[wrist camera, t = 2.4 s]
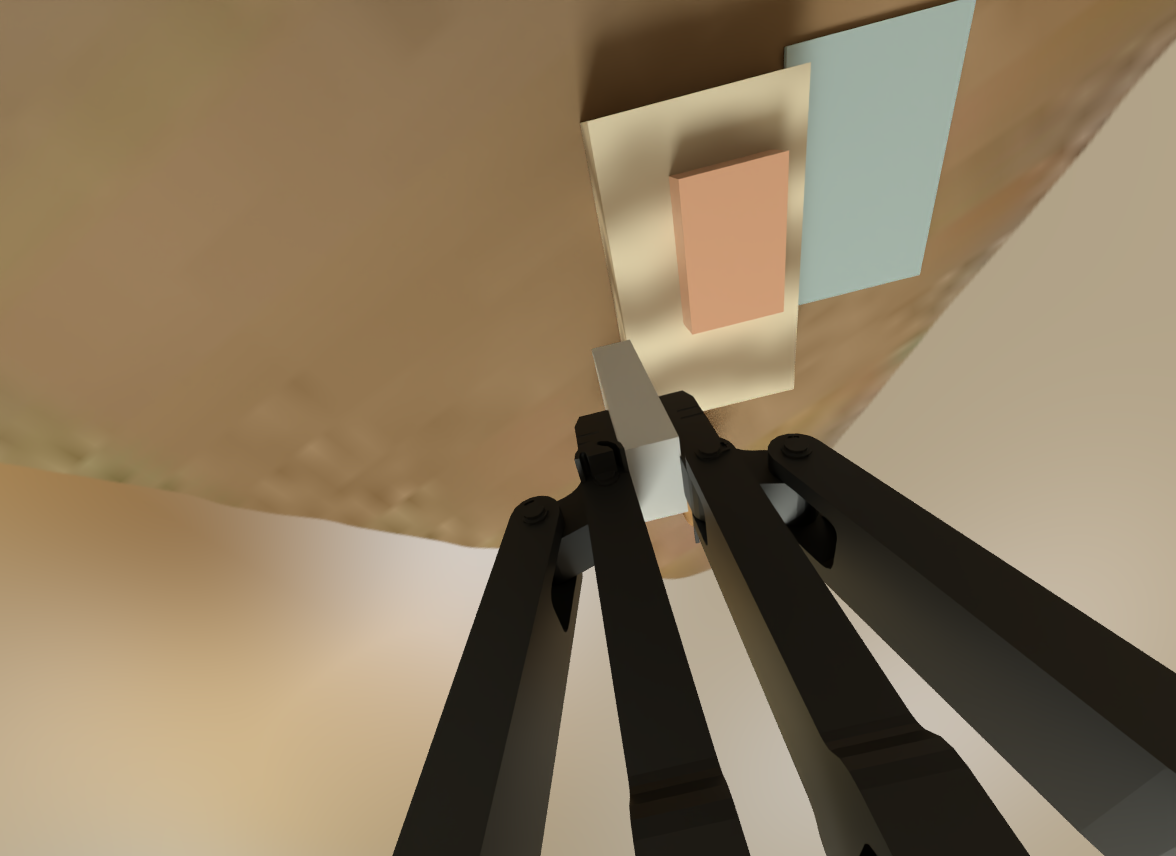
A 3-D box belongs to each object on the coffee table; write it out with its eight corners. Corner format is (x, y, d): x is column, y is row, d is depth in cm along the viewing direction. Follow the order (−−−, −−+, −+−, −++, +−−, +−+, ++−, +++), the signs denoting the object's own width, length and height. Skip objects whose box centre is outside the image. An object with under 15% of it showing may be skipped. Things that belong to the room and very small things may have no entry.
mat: (784, 47, 26) (787, 46, 26) (972, -4, 26) (976, -5, 25) (777, 308, 35) (779, 309, 35) (916, 273, 34) (919, 274, 34)
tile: (668, 176, 25) (678, 179, 24) (772, 149, 25) (789, 150, 23) (683, 323, 30) (692, 334, 29) (769, 302, 30) (783, 311, 29)
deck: (579, 123, 27) (587, 121, 23) (775, 70, 26) (811, 61, 23) (632, 400, 38) (642, 425, 35) (770, 366, 38) (793, 388, 34)
